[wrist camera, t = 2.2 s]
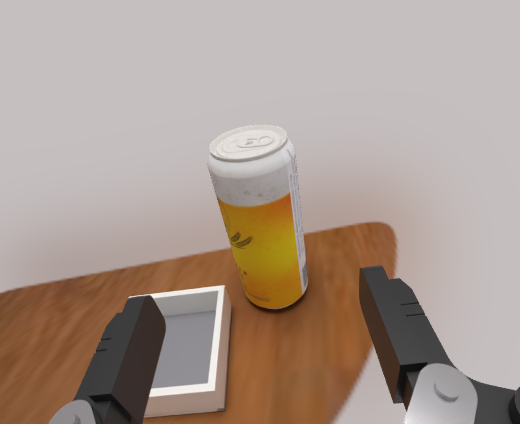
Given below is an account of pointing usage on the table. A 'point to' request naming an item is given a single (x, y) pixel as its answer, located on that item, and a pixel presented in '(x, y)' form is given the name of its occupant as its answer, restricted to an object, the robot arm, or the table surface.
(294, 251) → the beer can
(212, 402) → the white square tray
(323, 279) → the table surface
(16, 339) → the table surface
